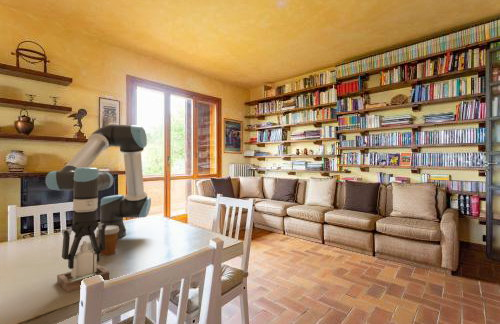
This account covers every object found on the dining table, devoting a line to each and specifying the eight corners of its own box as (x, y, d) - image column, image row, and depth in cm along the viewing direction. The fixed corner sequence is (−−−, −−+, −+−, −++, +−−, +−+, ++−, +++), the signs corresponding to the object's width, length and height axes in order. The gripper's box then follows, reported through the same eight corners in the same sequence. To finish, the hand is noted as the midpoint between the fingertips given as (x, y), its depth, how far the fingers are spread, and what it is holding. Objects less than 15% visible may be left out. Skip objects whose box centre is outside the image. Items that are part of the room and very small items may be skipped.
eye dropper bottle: (79, 271, 93) (80, 239, 93) (95, 271, 93) (95, 239, 93) (71, 277, 89) (72, 243, 88) (88, 277, 89) (89, 243, 89)
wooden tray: (57, 282, 89) (57, 275, 89) (97, 270, 99) (97, 264, 99) (67, 292, 82) (67, 285, 82) (109, 278, 92) (109, 272, 92)
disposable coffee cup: (94, 258, 111) (95, 231, 111) (96, 251, 120) (97, 226, 120) (118, 255, 116) (119, 229, 116) (119, 248, 124) (119, 224, 124)
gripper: (57, 215, 81) (55, 286, 81) (117, 208, 96) (115, 268, 96) (50, 212, 86) (48, 279, 86) (108, 205, 100) (107, 263, 100)
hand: (83, 273), depth 91 cm, fingers closed on eye dropper bottle, 6 cm apart
